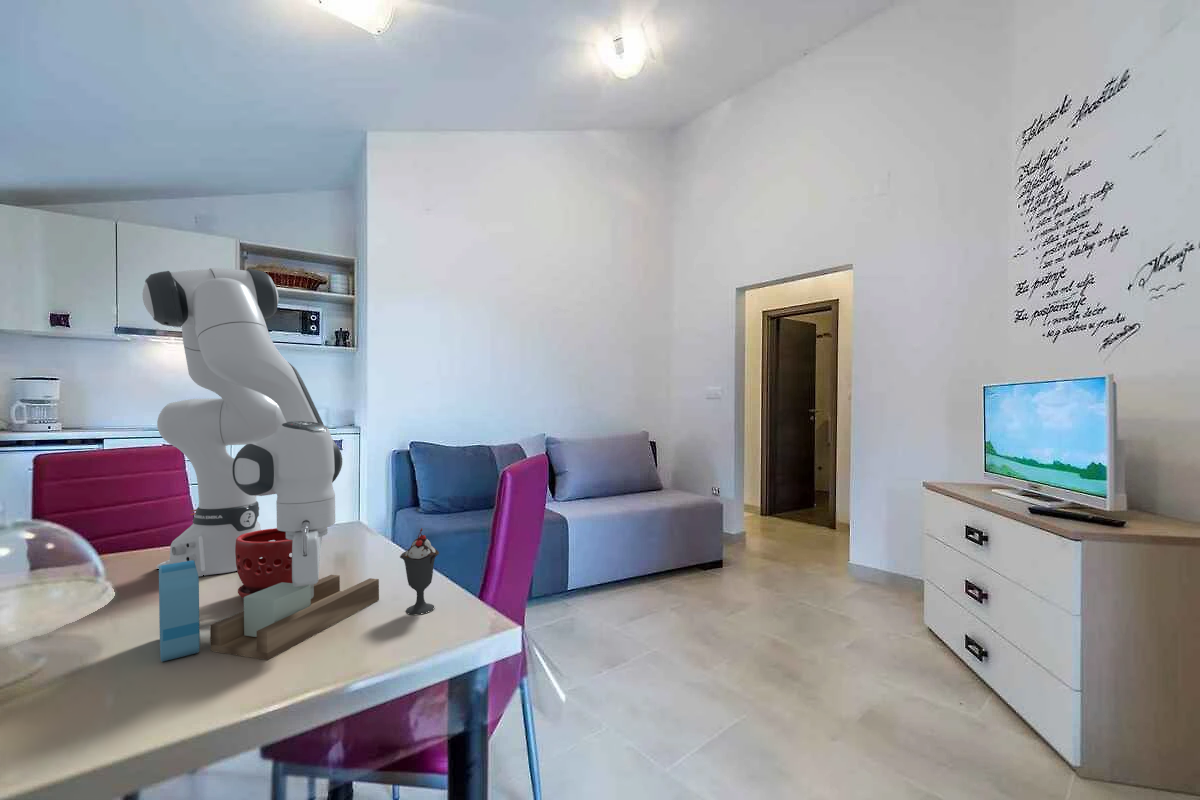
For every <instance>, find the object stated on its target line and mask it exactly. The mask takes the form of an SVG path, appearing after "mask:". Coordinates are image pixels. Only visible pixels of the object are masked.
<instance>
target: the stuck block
mask: <svg viewBox="0 0 1200 800" xmlns="http://www.w3.org/2000/svg"><path fill="white" fill-rule="evenodd" d="M309 606H311V590H310V585H306V586H299V587H294V586H293V583H284V582H281V583H279V584H276V585H273V586H271V587H268V588H266V589H263V590H261V591H258V592H255V593H253V594H250V595H248V596H245V597H244V599H243V611H244V635H245V636H252V637H257V631H258V630H260V629H262V628H264V627H266V626H268V625H271V624H273V623H275V622H277V621H279V620H281V619H284V618H286V617H288V616H290V615H292V614H294V613H296V612H299V611H301V610H303V609H305V608H307V607H309Z"/></svg>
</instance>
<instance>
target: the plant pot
mask: <svg viewBox="0 0 1200 800" xmlns="http://www.w3.org/2000/svg"><path fill="white" fill-rule="evenodd" d="M292 541H293V540H288V539H286V532H284V531H279V530H277V527H274V528H267V529H261V530H259V531H254V532H249V533H245V534H242V535H240V536H239V537H237V539H236V546H235V556H236V567H237V575H238V577H239V580H240V582H241V583H242V585H240V586H239V588H238V589H237V593H238V596H240V597H241V598H242V599H243V600H244V597H245V596H248V595H250V594H253V593H255V592H258V591H261V590H263V589H266V588H268V587H271V586H273V585H276V584H279V583H281V582H284V583H292V556H290V554H292ZM261 557H263V558H261ZM259 558H261V559H259Z"/></svg>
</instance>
